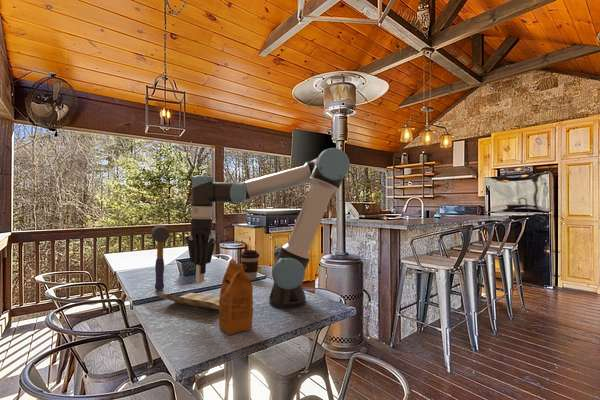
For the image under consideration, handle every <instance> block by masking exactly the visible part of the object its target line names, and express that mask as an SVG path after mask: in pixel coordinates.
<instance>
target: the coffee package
mask: <svg viewBox="0 0 600 400" xmlns="http://www.w3.org/2000/svg"><path fill="white" fill-rule="evenodd" d="M244 269H246V265H244V264H242V263H237V262H236V261H235V259H234V258H232V259H230V261H229V263H228V265H227V268H226V270H225V273H224V275H223V278H222V281H221V287H220V291H219V293H220V294H219V297H220V299H219V311H218V314H219V315H218V325H219V327H220V329H221V331H222V332H223V331H224V333H225V332H226V334H227V335H228V336H230V335H234V334H236V333H239V332H241V331H242V332H243V331H248V330H250V329H252V328H253V316H254V309H253V303H254V300H253V299H254V297H253V291H254V290H253V289H254V287H253V283H252V281H251V280H249V278H248V277H247V275H246V273H245V271H244Z"/></svg>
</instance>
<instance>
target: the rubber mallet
mask: <svg viewBox="0 0 600 400" xmlns="http://www.w3.org/2000/svg"><path fill="white" fill-rule="evenodd" d="M150 234H151V237H152V239H153V240H154V241H155V242H157V243H156V245H157V246H156V248H157V249H156V258H155V259H156V260H155V284H154V289H155V290H156V291H157V290H160V291H163V290H164V289H165V283H164V273H165V260H164V243H165V242H167V241H168V240H169V238H170V234H171V233H170V231H169V229H168V227H166V226H165V225H160V224H159V225H155V226H154V227H153V228H152V229H151V233H150Z"/></svg>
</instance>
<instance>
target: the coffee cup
mask: <svg viewBox="0 0 600 400" xmlns="http://www.w3.org/2000/svg"><path fill="white" fill-rule="evenodd" d="M240 258H241V264H244V265H246V269H244V271H245V273H246V275H247V277H248V278H249V280H250V281H255V280H257V278H258V277H257V275H258V269H259V267H258V266H259V258H260V253H258V252H257V250H252V249H249V250H248V249H247V250H243V252H242V253H240Z"/></svg>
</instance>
